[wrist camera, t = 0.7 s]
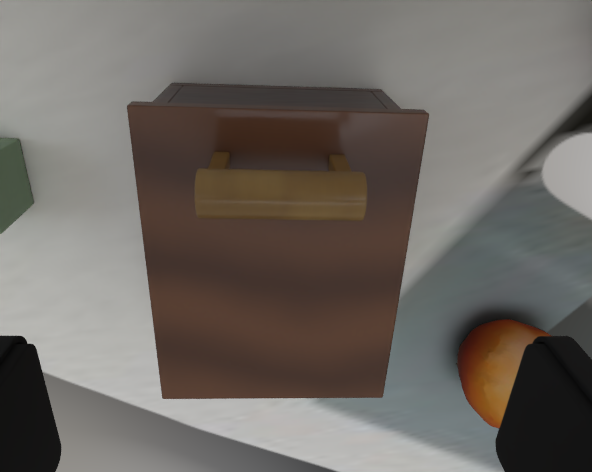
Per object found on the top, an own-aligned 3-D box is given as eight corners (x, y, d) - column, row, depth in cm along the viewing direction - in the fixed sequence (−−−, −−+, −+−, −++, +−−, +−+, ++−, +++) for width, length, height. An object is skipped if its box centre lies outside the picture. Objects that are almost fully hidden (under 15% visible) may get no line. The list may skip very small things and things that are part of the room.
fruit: (419, 393, 39) (482, 428, 32) (450, 300, 40) (518, 313, 32) (498, 421, 41) (576, 461, 33) (526, 332, 42) (608, 351, 34)
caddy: (171, 82, 29) (133, 119, 21) (381, 88, 29) (421, 127, 22) (188, 300, 36) (165, 388, 28) (357, 301, 37) (380, 387, 29)
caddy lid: (131, 101, 20) (86, 138, 16) (424, 109, 21) (471, 147, 16) (164, 389, 28) (142, 476, 23) (380, 387, 29) (402, 472, 24)
